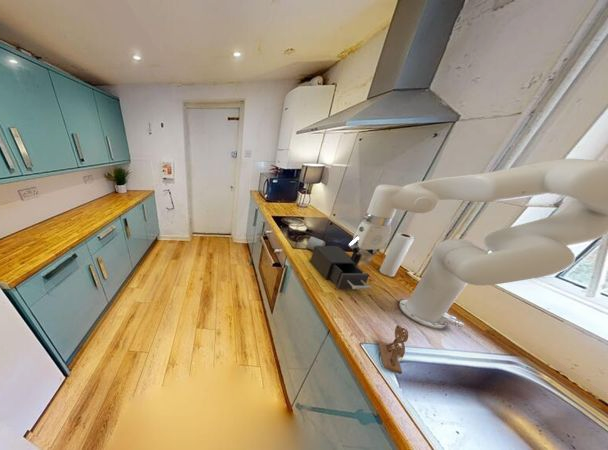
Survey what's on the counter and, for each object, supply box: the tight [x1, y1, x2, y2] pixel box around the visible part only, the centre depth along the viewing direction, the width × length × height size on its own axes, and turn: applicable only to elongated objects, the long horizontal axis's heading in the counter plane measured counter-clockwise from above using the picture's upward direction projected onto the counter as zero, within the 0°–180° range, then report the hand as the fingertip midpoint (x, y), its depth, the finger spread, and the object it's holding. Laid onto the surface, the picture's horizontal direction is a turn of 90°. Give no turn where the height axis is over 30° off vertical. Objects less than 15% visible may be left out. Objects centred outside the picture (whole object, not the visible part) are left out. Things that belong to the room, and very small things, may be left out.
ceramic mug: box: [306, 236, 326, 251], centre depth 116 cm, size 11×8×8 cm
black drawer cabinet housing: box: [309, 245, 359, 280], centre depth 98 cm, size 15×13×10 cm
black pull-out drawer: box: [329, 264, 372, 290], centre depth 88 cm, size 18×11×8 cm, turn 2°
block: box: [357, 250, 375, 266], centre depth 78 cm, size 4×4×4 cm
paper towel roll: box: [379, 232, 415, 278], centre depth 94 cm, size 7×6×21 cm
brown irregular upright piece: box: [377, 324, 409, 375], centre depth 58 cm, size 9×4×12 cm, turn 151°
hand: (360, 260), depth 79 cm, fingers closed on block, 4 cm apart
